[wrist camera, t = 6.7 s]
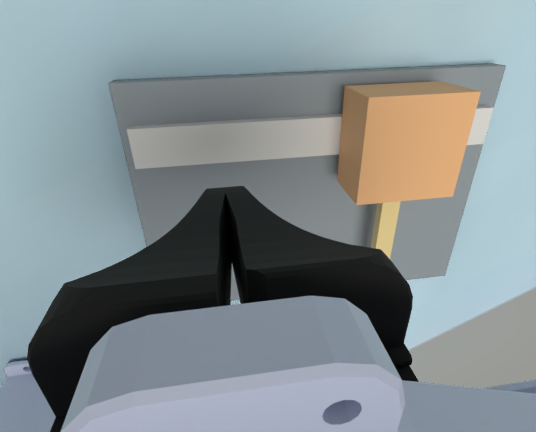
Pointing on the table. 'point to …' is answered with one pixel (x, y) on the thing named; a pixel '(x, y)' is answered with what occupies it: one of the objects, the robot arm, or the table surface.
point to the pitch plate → (284, 153)
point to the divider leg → (402, 146)
